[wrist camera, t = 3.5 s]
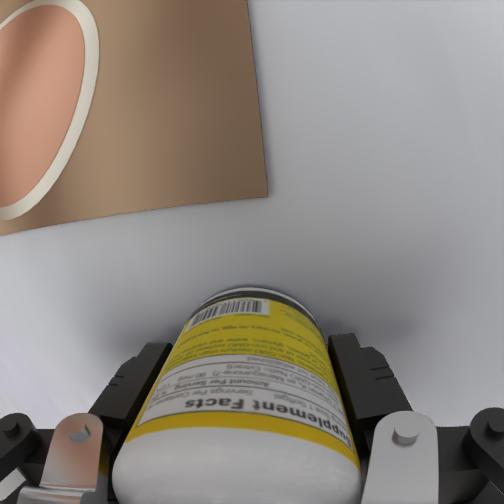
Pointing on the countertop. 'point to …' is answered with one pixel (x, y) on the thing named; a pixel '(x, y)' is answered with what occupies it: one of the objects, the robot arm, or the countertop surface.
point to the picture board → (125, 108)
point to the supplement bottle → (243, 413)
